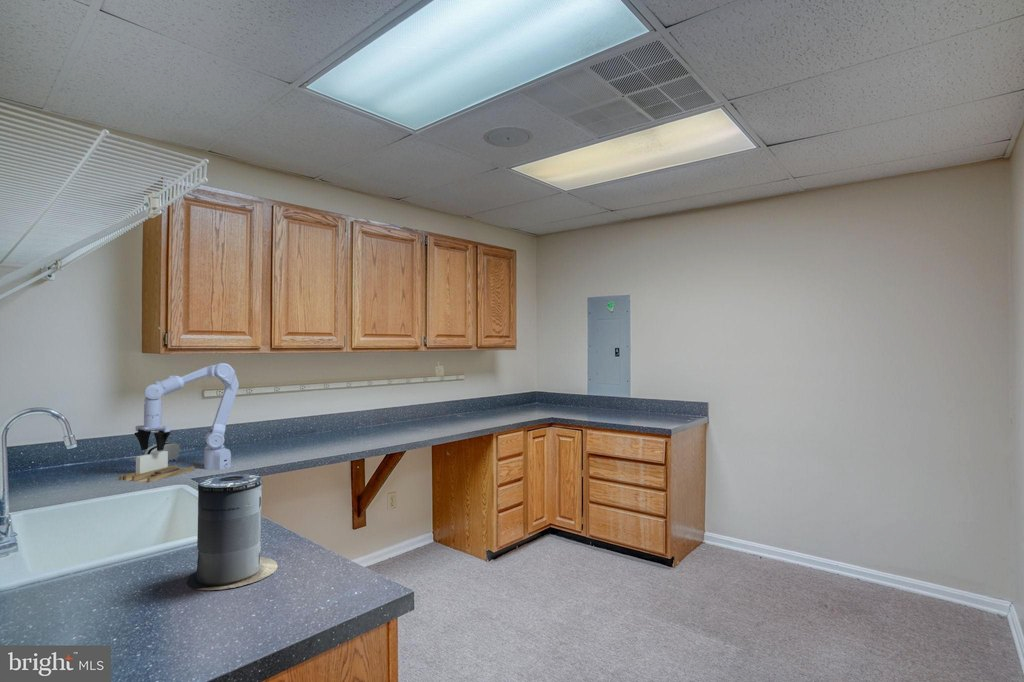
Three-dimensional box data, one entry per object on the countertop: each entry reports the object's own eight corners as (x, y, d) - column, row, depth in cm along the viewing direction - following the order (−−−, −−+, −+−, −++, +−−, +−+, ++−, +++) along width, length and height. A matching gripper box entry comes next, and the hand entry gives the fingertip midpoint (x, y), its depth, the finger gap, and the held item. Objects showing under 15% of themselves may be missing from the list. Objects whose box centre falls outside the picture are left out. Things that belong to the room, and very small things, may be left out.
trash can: (286, 554, 125) (285, 466, 125) (263, 587, 108) (262, 485, 108) (210, 560, 122) (209, 470, 123) (174, 595, 105) (173, 490, 105)
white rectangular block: (167, 471, 209) (167, 451, 210) (139, 478, 198) (140, 457, 198) (163, 471, 210) (163, 451, 210) (135, 477, 198) (135, 456, 198)
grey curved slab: (168, 458, 239) (174, 438, 239) (176, 462, 238) (183, 441, 238) (136, 466, 222) (143, 444, 222) (145, 470, 222) (152, 448, 221)
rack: (194, 472, 211) (194, 465, 211) (149, 484, 192) (149, 477, 192) (166, 470, 214) (166, 464, 215) (119, 482, 195) (119, 475, 195)
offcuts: (180, 472, 207) (180, 467, 207) (158, 478, 197) (158, 473, 197) (172, 472, 208) (172, 467, 208) (149, 478, 198) (149, 472, 198)
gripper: (128, 415, 202) (127, 450, 202) (158, 416, 199) (158, 452, 198) (145, 413, 209) (144, 447, 209) (174, 414, 206) (174, 449, 205)
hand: (152, 449), depth 204 cm, fingers open, 7 cm apart
